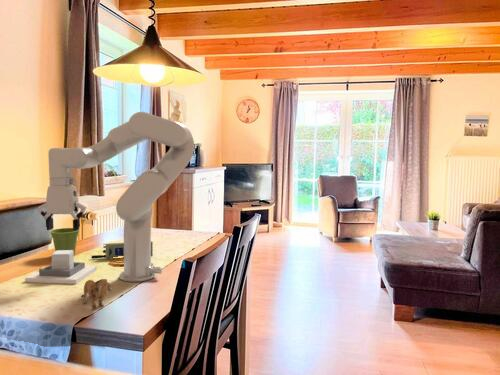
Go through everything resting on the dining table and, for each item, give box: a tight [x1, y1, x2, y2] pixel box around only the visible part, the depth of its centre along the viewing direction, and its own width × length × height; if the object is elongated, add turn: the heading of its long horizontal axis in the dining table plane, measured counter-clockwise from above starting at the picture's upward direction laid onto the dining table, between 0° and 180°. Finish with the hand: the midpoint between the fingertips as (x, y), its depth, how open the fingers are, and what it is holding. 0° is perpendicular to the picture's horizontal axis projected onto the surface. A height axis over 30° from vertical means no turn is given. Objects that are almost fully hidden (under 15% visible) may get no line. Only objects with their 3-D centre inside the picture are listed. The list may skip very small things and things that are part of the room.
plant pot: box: [49, 227, 81, 256], centre depth 166 cm, size 12×12×11 cm
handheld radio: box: [91, 240, 154, 260], centre depth 166 cm, size 7×3×25 cm
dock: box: [24, 261, 98, 285], centre depth 140 cm, size 18×16×4 cm
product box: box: [51, 250, 75, 270], centre depth 140 cm, size 6×6×7 cm
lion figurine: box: [80, 278, 114, 311], centre depth 114 cm, size 15×5×9 cm, turn 52°
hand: (63, 229), depth 139 cm, fingers open, 9 cm apart
